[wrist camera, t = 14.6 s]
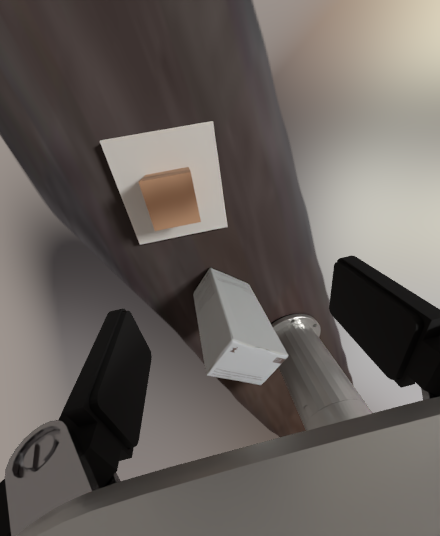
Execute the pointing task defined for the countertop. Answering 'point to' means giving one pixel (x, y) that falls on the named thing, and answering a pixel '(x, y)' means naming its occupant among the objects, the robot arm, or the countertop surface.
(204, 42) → the countertop surface
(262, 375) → the skincare box
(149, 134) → the chopping board
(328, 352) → the robot arm
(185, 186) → the wooden cube
